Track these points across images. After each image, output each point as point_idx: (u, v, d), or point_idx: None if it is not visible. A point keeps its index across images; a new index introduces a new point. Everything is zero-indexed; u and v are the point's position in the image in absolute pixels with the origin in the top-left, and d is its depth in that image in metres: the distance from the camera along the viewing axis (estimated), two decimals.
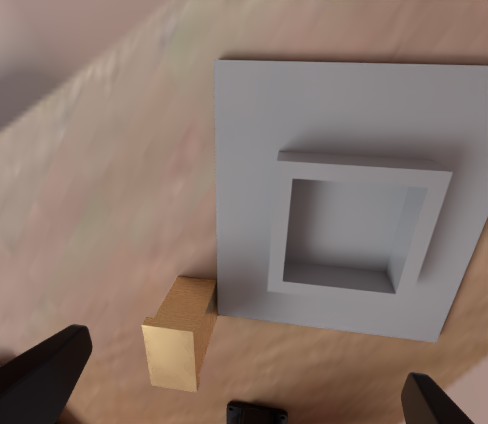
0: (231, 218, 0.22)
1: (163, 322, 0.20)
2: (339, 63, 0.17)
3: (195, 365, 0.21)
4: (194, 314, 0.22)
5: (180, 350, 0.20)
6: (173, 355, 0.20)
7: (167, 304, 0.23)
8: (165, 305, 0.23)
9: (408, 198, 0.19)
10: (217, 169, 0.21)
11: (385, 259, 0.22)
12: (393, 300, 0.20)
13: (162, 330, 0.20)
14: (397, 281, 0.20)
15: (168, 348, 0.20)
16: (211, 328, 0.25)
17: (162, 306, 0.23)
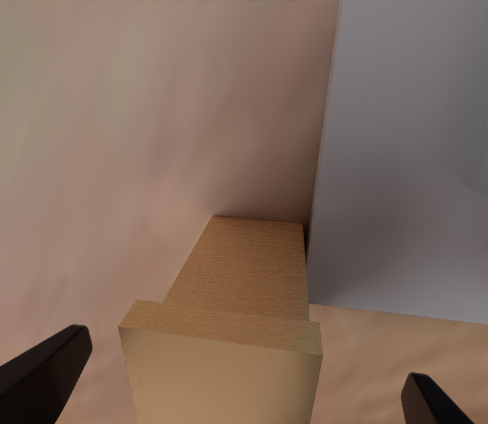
0: (388, 15, 0.08)
1: (198, 317, 0.05)
2: None
3: None
4: (279, 295, 0.08)
5: (257, 417, 0.06)
6: None
7: (196, 270, 0.08)
8: (191, 272, 0.08)
9: None
10: None
11: None
12: None
13: (196, 347, 0.05)
14: None
15: (214, 409, 0.06)
16: None
17: (183, 274, 0.08)
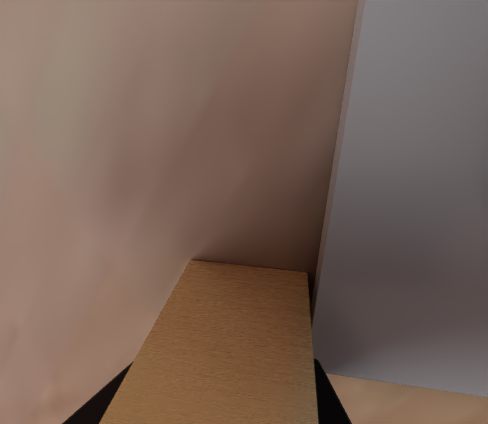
0: None
1: None
2: None
3: None
4: (274, 417, 0.05)
5: None
6: None
7: (155, 362, 0.06)
8: (147, 367, 0.06)
9: None
10: None
11: None
12: None
13: None
14: None
15: None
16: None
17: (135, 372, 0.06)
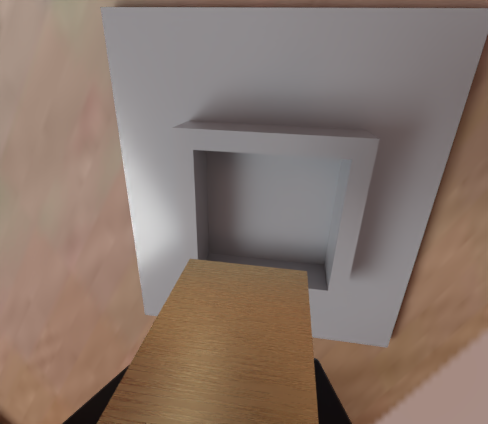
0: (145, 203, 0.19)
1: None
2: (246, 8, 0.14)
3: None
4: (274, 416, 0.05)
5: None
6: None
7: (154, 361, 0.06)
8: (146, 366, 0.06)
9: (340, 176, 0.16)
10: (122, 144, 0.18)
11: (322, 250, 0.18)
12: (326, 298, 0.17)
13: None
14: (329, 275, 0.17)
15: None
16: None
17: (134, 371, 0.06)
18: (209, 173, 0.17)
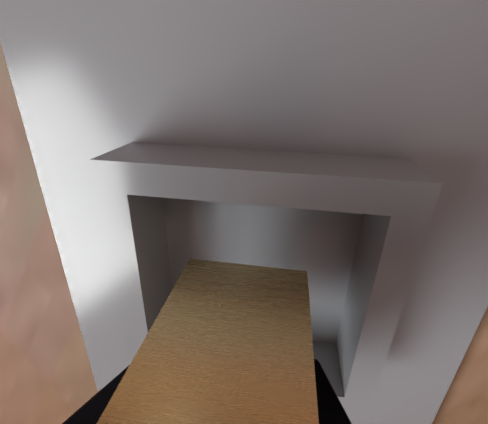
0: (82, 255, 0.13)
1: None
2: None
3: None
4: (274, 416, 0.05)
5: None
6: None
7: (155, 361, 0.06)
8: (146, 366, 0.06)
9: (363, 228, 0.10)
10: (40, 174, 0.12)
11: (334, 325, 0.13)
12: None
13: None
14: (346, 374, 0.11)
15: None
16: None
17: (134, 371, 0.06)
18: (168, 218, 0.12)
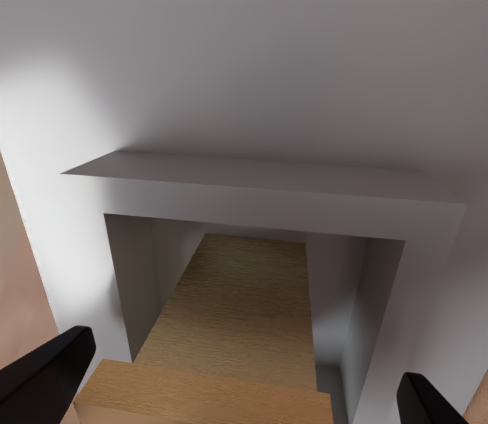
0: (63, 272, 0.12)
1: (177, 386, 0.04)
2: None
3: None
4: (279, 337, 0.06)
5: None
6: None
7: (184, 303, 0.07)
8: (178, 306, 0.07)
9: (371, 247, 0.09)
10: (15, 186, 0.11)
11: (337, 349, 0.12)
12: None
13: None
14: (352, 408, 0.10)
15: None
16: None
17: (168, 309, 0.07)
18: (155, 233, 0.11)
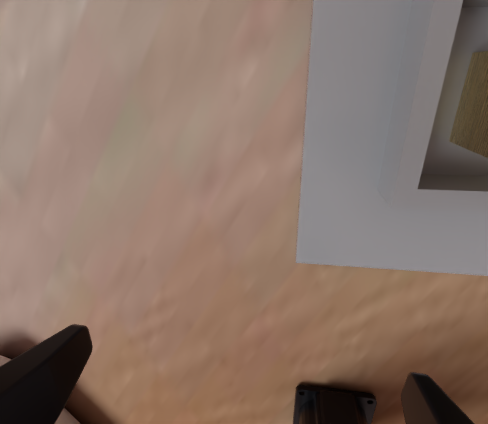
0: (328, 110, 0.15)
1: None
2: None
3: None
4: None
5: None
6: None
7: None
8: None
9: None
10: (314, 27, 0.14)
11: None
12: None
13: None
14: None
15: None
16: None
17: None
18: None
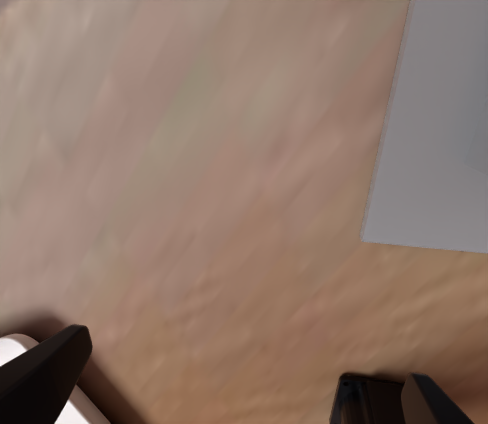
0: (425, 73, 0.14)
1: None
2: None
3: None
4: None
5: None
6: None
7: None
8: None
9: None
10: None
11: None
12: None
13: None
14: None
15: None
16: None
17: None
18: None
